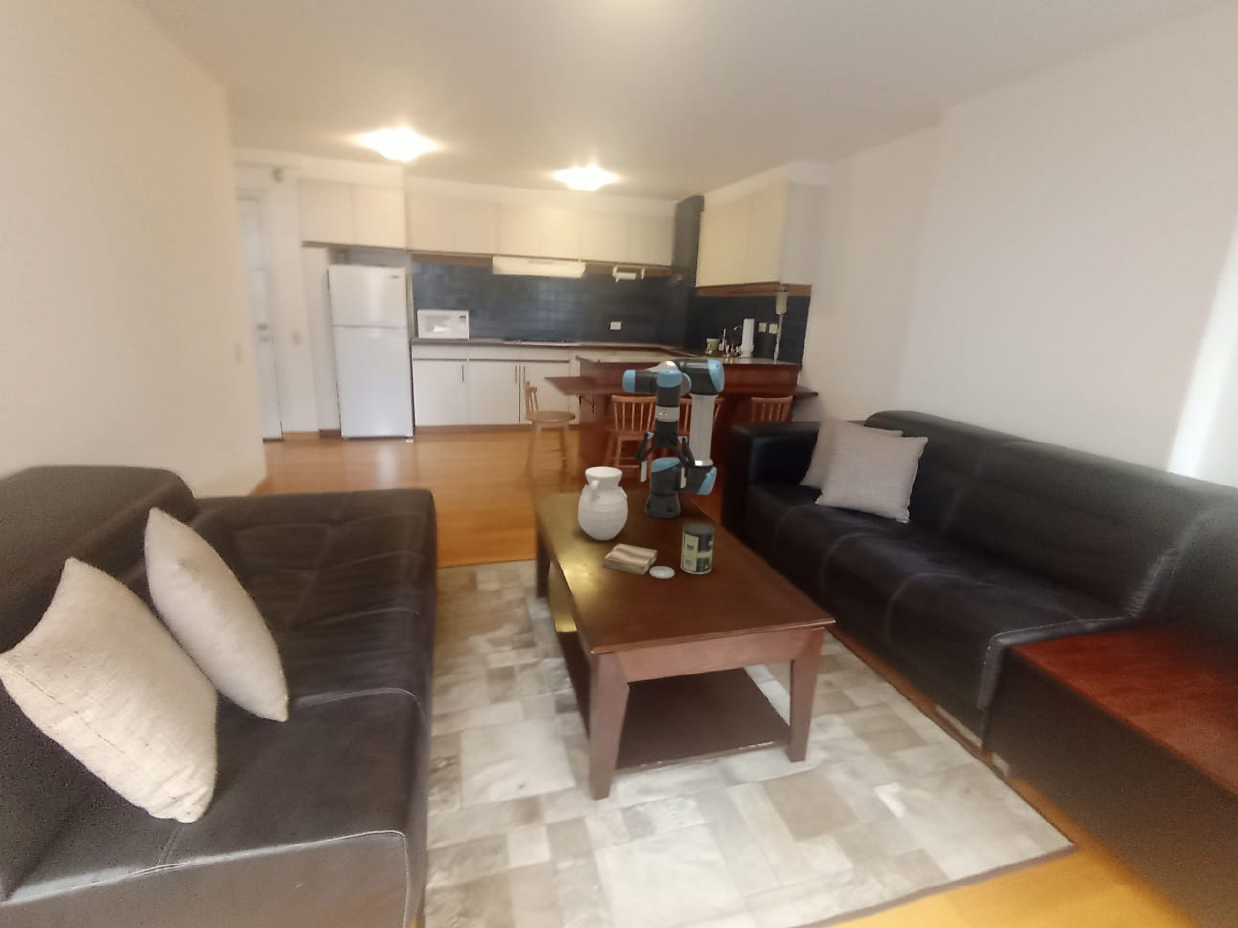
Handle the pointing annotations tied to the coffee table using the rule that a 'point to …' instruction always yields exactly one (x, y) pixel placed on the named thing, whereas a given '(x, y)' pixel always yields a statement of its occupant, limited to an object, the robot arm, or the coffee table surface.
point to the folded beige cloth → (630, 559)
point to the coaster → (662, 572)
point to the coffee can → (697, 548)
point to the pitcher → (602, 503)
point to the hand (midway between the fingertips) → (662, 483)
